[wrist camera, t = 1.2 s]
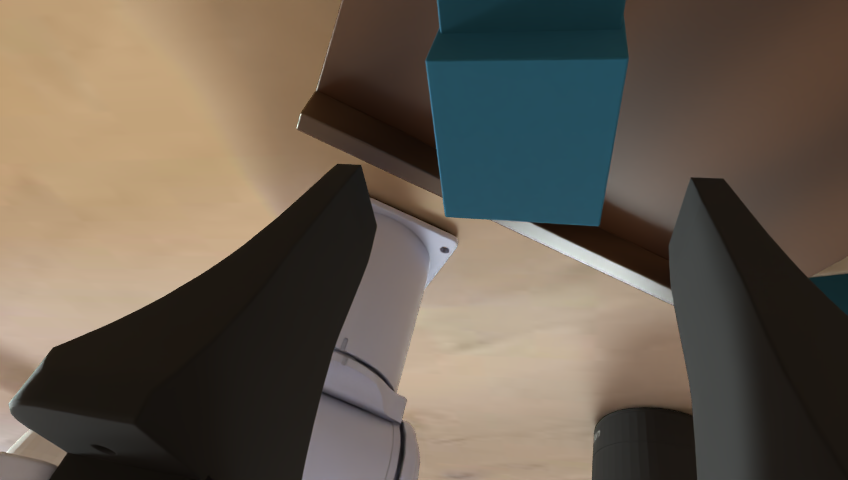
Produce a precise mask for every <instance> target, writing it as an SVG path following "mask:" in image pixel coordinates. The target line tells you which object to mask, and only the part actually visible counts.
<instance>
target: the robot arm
mask: <svg viewBox="0 0 848 480" xmlns="http://www.w3.org/2000/svg"><path fill="white" fill-rule="evenodd" d="M457 246H458V239H457V238H456V237H455V236H454V235H452V234H449V233H447V232H445V231H443V230H441V229H439V228H436V227H434V226H432V225H430V224H428V223H425V222H423V221H421V220H419V219H417V218H414V217H412V216H410V215H408V214H406V213H403V212H401V211H399V210H397V209H395V208H393V207H390V206H388V205H386V204H384V203H382V202H379V201H377V200H375V199H373V198H371V197H369V193H368V189H367V185H366V182H365V178H364V174H363V170H362V166H361V165H351V164H337V165H336V166H334V167H333V168H332V169H331V170H330V171H329V172H327V173H326V174H325V175H324V176H323V177H322V178H321V179H320V180H319V181H318V182H316V183H315V184H314V185H313V186H312V187H311V188H310V189H309V190H308V191H307V192H306V193H304V194H303V195H302V196H301V197H300V198H299V199H298V200H297V201H296V202H294V203H293V204H292V205H291V206H290V207H289V208H288V209H287V210H285V211H284V212H283V213H282V214H281V215H280V216H279V217H278V218H276V219H275V220H274V221H273V222H271V223H270V224H269V225H268V226H267V227H265V228H264V229H263V230H262V231H260V232H259V233H258V234H257V235H255V236H254V237H253V238H252V239H251V240H249V241H248V242H247V243H246V244H244V245H243V246H242V247H240V248H239V249H238V250H236V251H235V252H233V253H232V254H231V255H229V256H228V257H227V258H225V259H224V260H222V261H221V262H219V263H218V264H216V265H215V266H213V267H212V268H210V269H209V270H207V271H206V272H204V273H203V274H201V275H199V276H198V277H196V278H194V279H193V280H191V281H189V282H188V283H186V284H184V285H183V286H181V287H179V288H177V289H176V290H174V291H172V292H171V293H169V294H167V295H166V296H164V297H162V298H160V299H158V300H156V301H155V302H153V303H151V304H149V305H147V306H145V307H143V308H141V309H139V310H137V311H135V312H133V313H131V314H129V315H127V316H125V317H123V318H121V319H119V320H117V321H114V322H112V323H110V324H108V325H106V326H104V327H101V328H99V329H97V330H94V331H92V332H89V333H87V334H85V335H82V336H80V337H78V338H75V339H73V340H71V341H68V342H66V343H64V344H61V345H59V346H56V347H53V349H52V350H51V351H50V352H49V353H48V355H47V356H46V357H45V358H44V360H43V361H42V362H41V363H40V365H39V366H38V367H37V369H36V370H35V371H34V372H33V374H32V375H31V376H30V377H29V379H28V380H27V381H26V382H25V384H24V385H23V386H22V387H21V389H20V390H19V391H18V392H17V394H16V395H15V396H14V397H13V399H12V400H11V401H10V402H9V408H10V412H11V414H12V415H13V416H14V417H15V418H16V419H17V420H18V421H19V422H20V423H22V424H23V425H25V426H26V427H27V428H29V429H31V430H32V431H34V432H35V433H37V434H38V435H40V436H42V437H43V438H45V439H46V440H48V441H50V442H51V443H53V444H54V445H56V446H57V447H59V448H61V449H62V450H64V451H65V452H67V454H66V455H65V457H64V458H63V460H62V461H61V463H60V464H59V466H56V465H54V464H51V463H49V462H46V461H42V460H39V459H34V458H29V457H25V456H20V455H15V454H11V453H6V452H0V480H418V475H419V467H420V452H419V446H418V443H417V439H416V433H415V431H414V428H413V426H412V425H411V424H410V423H409V422H407V421H404V420H402V418H403V414H404V410H405V406H406V402H407V399H406V398H405V397H403V396H401V395H399V394H397V390H398V386H399V382H400V379H401V375H402V371H403V367H404V364H405V360H406V356H407V352H408V349H409V345H410V341H411V337H412V334H413V330H414V326H415V323H416V319H417V315H418V311H419V308H420V304H421V300H422V296H423V293H424V290H425V288H426V287H427V286H428V284H429V283H430V282H431V280H432V279H433V278H434V277H435V275H436V274H437V273H438V271H439V270H440V269H441V268H442V266H443V265H444V264H445V262H446V261H447V260H448V259H449V257H450V256H451V255H452V253H453V252H454V251H455V249H456V248H457ZM444 247H447V248H444ZM669 267H670V283H671V291H672V297H673V302H674V308H675V313H676V318H677V323H678V328H679V333H680V338H681V343H682V349H683V354H684V359H685V364H686V369H687V374H688V379H689V386H690V393H691V399H692V411H693V424H694V436H695V451H696V467H697V480H848V315H846V314H845V313H844V312H843V311H842V310H841V309H840V308H839V307H838V306H837V305H835V304H834V303H833V302H832V301H831V300H830V299H829V298H828V297H827V296H826V295H825V294H824V293H823V292H822V291H821V290H820V289H819V288H818V287H817V286H816V285H815V284H814V283H813V282H812V281H811V280H810V279H809V278H808V277H807V276H806V275H805V274H804V273H803V272H802V271H801V270H800V269H799V268H798V267H797V265H796V264H795V263H794V262H793V261H792V260H791V259H790V258H789V257H788V255H787V254H786V253H785V252H784V251H783V250H782V249H781V248H780V246H779V245H778V244H777V243H776V242H775V241H774V240H773V238H772V237H771V236H770V235H769V234H768V233H767V231H766V230H765V229H764V228H763V227H762V225H761V224H760V223H759V222H758V220H757V219H756V218H755V217H754V216H753V214H752V213H751V212H750V211H749V209H748V208H747V207H746V206H745V204H744V203H743V202H742V201H741V199H740V198H739V197H738V196H737V194H736V193H735V192H734V191H733V189H732V188H731V187H730V186H729V184H728V183H727V182H726V181H725V180H724V178H697V177H691V178H690V181H689V184H688V187H687V190H686V193H685V196H684V199H683V203H682V206H681V209H680V212H679V215H678V218H677V221H676V224H675V227H674V230H673V233H672V237H671V240H670V243H669Z"/></svg>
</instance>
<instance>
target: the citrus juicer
mask: <svg viewBox="0 0 848 480" xmlns="http://www.w3.org/2000/svg"><path fill="white" fill-rule="evenodd" d="M6 453H11V454H15V455H20V456H25V457H29V458H34V459H39V460H42V461H46V462H49V463H51V464H54V465H56V466H59V464H60V463H61V461H62V460H63V458H64V457H65V455H66V454H67V452H65V451H64V450H62V449H61V448H59V447H57V446H56V445H54V444H53V443H51V442H50V441H48V440H46V439H45V438H43V437H42V436H40V435H38V434H37V433H35V432H34V431H32V430H31V429H30V430H29V431H28V432H26V433H25V434H24V435H23V436H22V437H21V438H20V439H19V440H18V441H17V442H16V443H15V444H14V445H13V446H12V447H11V448H10V449H9V450H8V451H7V452H6Z"/></svg>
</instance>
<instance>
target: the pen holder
mask: <svg viewBox="0 0 848 480" xmlns="http://www.w3.org/2000/svg"><path fill="white" fill-rule="evenodd" d="M592 480H697V467H696V451H695V436H694V424H693V417H692V416H690V415H687V414H684V413H681V412H677V411H672V410H667V409H659V408H632V409H625V410H620V411H616V412H613V413H611V414H609V415H607V416H605V417H603V418H602V419H601V420H600V422H599V423H598V424H597V425H596V427H595V430H594V444H593V463H592Z"/></svg>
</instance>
